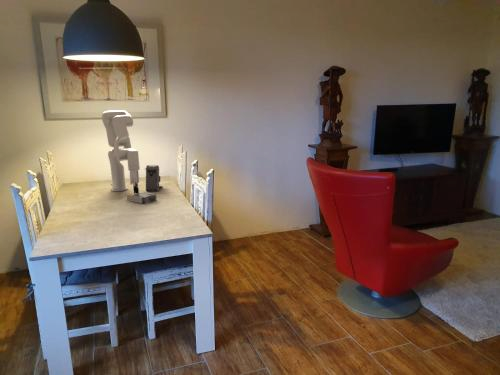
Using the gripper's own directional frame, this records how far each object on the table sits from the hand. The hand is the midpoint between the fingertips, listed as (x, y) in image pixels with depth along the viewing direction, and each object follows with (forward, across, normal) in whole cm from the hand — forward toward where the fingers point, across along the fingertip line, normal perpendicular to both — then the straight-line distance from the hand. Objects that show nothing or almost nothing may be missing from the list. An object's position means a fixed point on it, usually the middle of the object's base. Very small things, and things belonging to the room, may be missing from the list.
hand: (136, 193), depth 265 cm
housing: (+4, +7, +7) cm, 11 cm away
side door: (+4, +9, 0) cm, 10 cm away
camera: (+4, -24, +10) cm, 27 cm away
